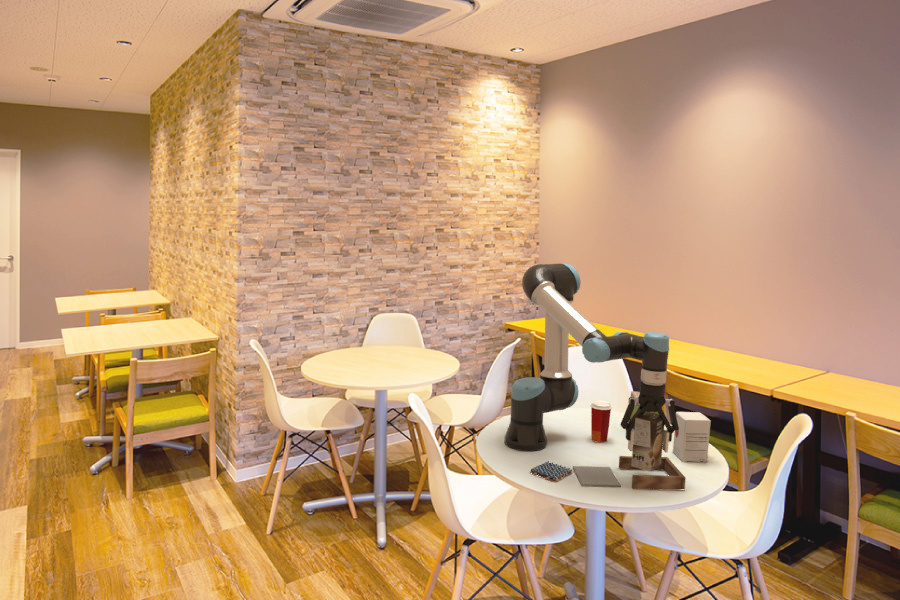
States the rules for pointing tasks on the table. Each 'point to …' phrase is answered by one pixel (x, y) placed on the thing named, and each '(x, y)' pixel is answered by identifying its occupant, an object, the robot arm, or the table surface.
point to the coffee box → (648, 441)
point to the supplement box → (692, 436)
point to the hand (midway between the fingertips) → (647, 450)
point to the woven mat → (551, 471)
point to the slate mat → (596, 476)
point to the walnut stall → (655, 481)
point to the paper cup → (600, 420)
